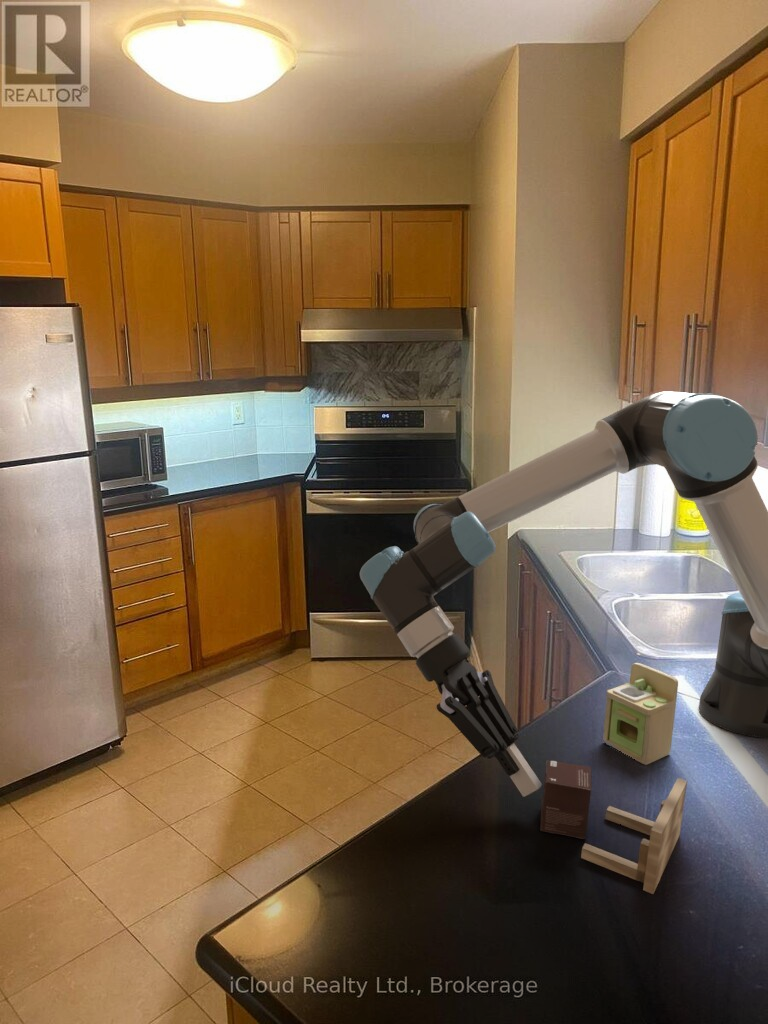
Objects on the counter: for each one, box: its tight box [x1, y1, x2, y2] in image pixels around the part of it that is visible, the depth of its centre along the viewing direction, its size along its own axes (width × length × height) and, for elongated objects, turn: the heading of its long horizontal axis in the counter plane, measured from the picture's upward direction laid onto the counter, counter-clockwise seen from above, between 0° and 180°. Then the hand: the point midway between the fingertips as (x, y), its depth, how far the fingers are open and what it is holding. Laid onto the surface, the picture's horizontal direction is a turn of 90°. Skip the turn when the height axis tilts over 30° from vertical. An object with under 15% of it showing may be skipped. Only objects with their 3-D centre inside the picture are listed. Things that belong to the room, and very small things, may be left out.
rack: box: [580, 777, 688, 895], centre depth 95 cm, size 14×9×8 cm, turn 147°
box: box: [539, 760, 592, 840], centre depth 100 cm, size 6×6×7 cm
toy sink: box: [602, 662, 679, 766], centre depth 121 cm, size 8×7×13 cm
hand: (532, 790), depth 102 cm, fingers closed
